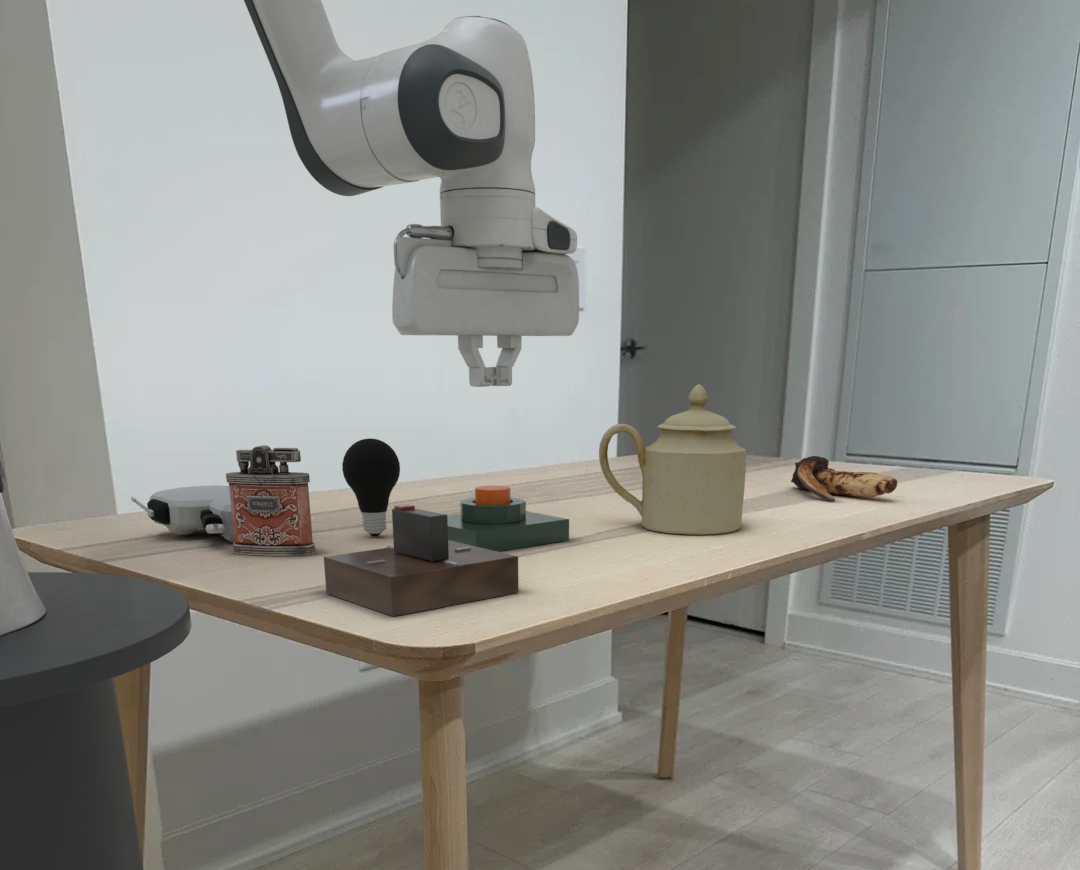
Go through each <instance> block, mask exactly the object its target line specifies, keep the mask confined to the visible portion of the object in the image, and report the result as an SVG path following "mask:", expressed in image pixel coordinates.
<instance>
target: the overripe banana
mask: <svg viewBox="0 0 1080 870" xmlns="http://www.w3.org/2000/svg"><path fill="white" fill-rule="evenodd" d="M794 464H795V465H794V466H795V468H794V471H793V474H792V478H791V480H790V482H791V483H793V484H794V485H795V486H796V487H797V489H798V490H805V491H806V490H807V491H810V492H811V493H812V494H814V495H815V496H817V497H819V499H822V500H825V501H827V502H836V498H835V497H834V495H838V496H849V497H860V498H862V497H866V498H874V497H879V496H883V495H885V494H889V495H890V494H891V493H893V492H894V491H895V490H896V489H897V486H898V480H897V478H895V477H893V476H890V475H886V474H885V475H883V474H879V473H877V472H871V471H846V470H835V469H834V468H832V467H831V468H830V467H829V459H827V458H826V457H823V456H822V457H821V456H818V455H811V456H807V457H804V458H802V459H801V460H800V461H798V462H794ZM832 494H833V495H832Z"/></svg>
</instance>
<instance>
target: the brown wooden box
mask: <svg viewBox="0 0 1080 870" xmlns="http://www.w3.org/2000/svg"><path fill="white" fill-rule="evenodd" d="M448 549H449V559H448V560H442V561H436V562H431V561H427V560H424V559H420V558H416V557H412V556H408V555H404V554H400V553H397V552H394V545H387V546H386V547H384V548H377V549H369V550H363V551H356V552H348V553H341V554H335V555H334V554H333V555H327V556H323V566H324V567H323V568H324V581H325V582H324V583H325V594H327V595H330V596H333V597H336V598H339V599H342V600H344V601H348V602H351V603H352V604H356V605H358V606H362V607H365V608H367V609H370V610H373V611H376V612H379V613H381V614H384V615H388V616H391V617H398V616H399V617H400V616H405V615H410V614H414V613H420V612H425V611H431V610H434V609H435V610H436V609H440V608H446V607H450V606H455V605H462V604H467V603H472V602H477V601H478V602H479V601H482V600H489V599H493V598H497V597H504V596H508V595H514V594H518V593H519V556H518V555H515V554H510V553H505V552H503V551H498V552H497V551H493V550H489V549H484V548H480V547H476V546H472V545H467V544H463V543H459V542H454V541H450V540H448Z"/></svg>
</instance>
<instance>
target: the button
mask: <svg viewBox="0 0 1080 870" xmlns="http://www.w3.org/2000/svg"><path fill="white" fill-rule="evenodd" d="M511 494H512V493H511V487H510V486H506V485H496V484H495V485H492V484H491V485H479V486H475V487H474V498H475V503H477V504H489V505H490V504H508V503H511V498H512V497H511Z"/></svg>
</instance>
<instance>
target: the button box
mask: <svg viewBox="0 0 1080 870" xmlns="http://www.w3.org/2000/svg"><path fill="white" fill-rule="evenodd" d="M459 505H460V507H459V508H460V513H458V514H451V515H450V514H449V515H447V518H448V540H450V541H454V542H459V543H463V544H467V545H472V546H476V547H480V548H484V549H489V550H493V551H497V552H505V551H511V550H516V549H522V548H529V547H536V546H542V545H543V546H544V545H548V544H554V543H555V544H556V543H561V542H567V541H569V540H570V518H566V517H559V516H555V515H550V514H545V513H544V514H543V513H538V512H533V511H527V502H526V500H524V499H522V498H517V497H511V503H508V504H490V505H489V504H477V503H475V497H471V498H466V499H463V500H460V502H459Z"/></svg>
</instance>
